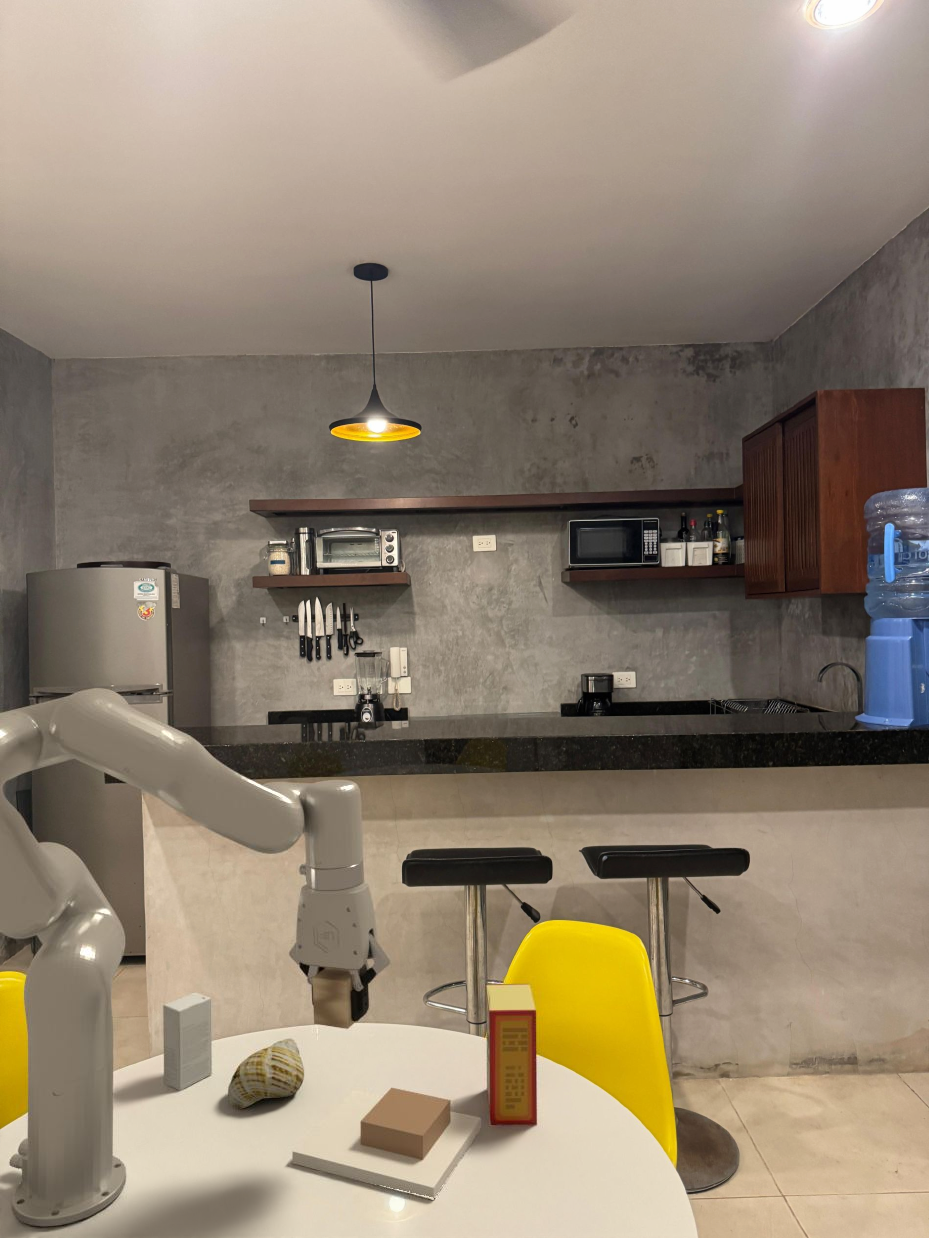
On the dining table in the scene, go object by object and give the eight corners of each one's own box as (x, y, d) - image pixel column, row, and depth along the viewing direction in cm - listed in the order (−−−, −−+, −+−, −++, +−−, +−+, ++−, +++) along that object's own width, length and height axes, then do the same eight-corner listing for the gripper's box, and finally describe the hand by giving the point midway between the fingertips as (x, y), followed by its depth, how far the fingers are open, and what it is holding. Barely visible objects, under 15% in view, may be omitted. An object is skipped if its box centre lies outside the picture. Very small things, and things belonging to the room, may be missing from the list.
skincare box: (195, 1067, 133) (195, 990, 134) (212, 1075, 131) (212, 997, 131) (161, 1083, 128) (162, 1004, 129) (178, 1092, 126) (179, 1011, 126)
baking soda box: (486, 1089, 126) (486, 981, 127) (530, 1088, 126) (529, 981, 127) (490, 1125, 117) (489, 1008, 117) (536, 1124, 117) (536, 1008, 117)
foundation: (292, 1163, 109) (292, 1127, 109) (353, 1100, 123) (353, 1069, 123) (433, 1200, 101) (433, 1162, 101) (481, 1129, 116) (480, 1095, 116)
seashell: (211, 1103, 122) (231, 1027, 126) (253, 1105, 129) (270, 1034, 134) (265, 1117, 117) (284, 1038, 122) (305, 1119, 124) (322, 1044, 129)
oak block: (314, 1023, 109) (312, 977, 109) (334, 1007, 114) (332, 962, 114) (347, 1028, 107) (345, 981, 108) (366, 1012, 112) (364, 966, 112)
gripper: (264, 879, 111) (269, 1018, 110) (379, 888, 104) (385, 1036, 104) (296, 864, 118) (301, 994, 117) (405, 871, 111) (411, 1010, 111)
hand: (340, 1012), depth 111 cm, fingers closed on oak block, 5 cm apart
